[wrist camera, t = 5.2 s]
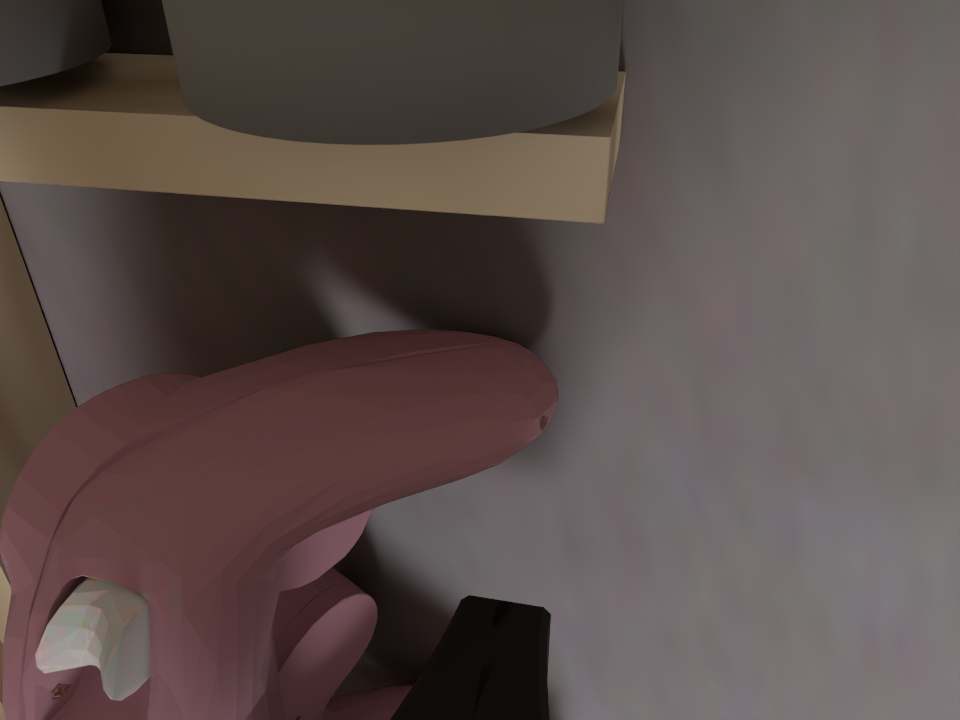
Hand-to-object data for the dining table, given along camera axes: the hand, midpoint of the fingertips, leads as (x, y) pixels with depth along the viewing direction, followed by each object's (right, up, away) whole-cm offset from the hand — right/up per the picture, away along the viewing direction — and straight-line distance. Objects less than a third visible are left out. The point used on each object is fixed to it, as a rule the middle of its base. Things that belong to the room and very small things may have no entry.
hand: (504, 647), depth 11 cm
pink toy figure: (-2, +1, +3) cm, 4 cm away
